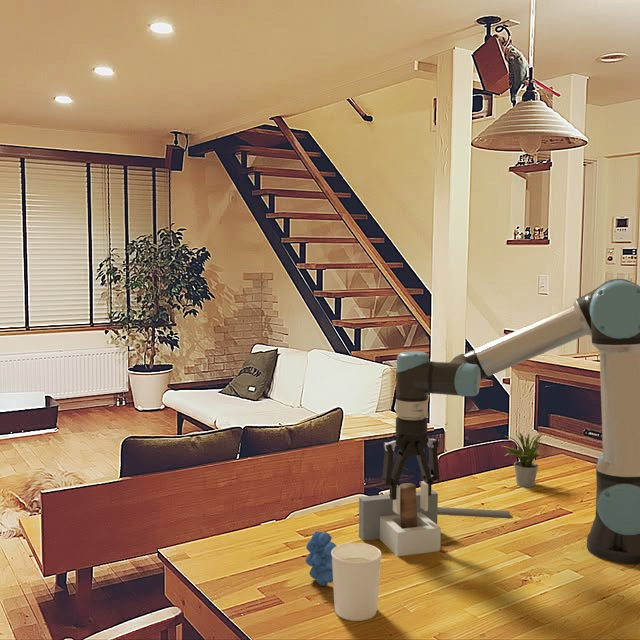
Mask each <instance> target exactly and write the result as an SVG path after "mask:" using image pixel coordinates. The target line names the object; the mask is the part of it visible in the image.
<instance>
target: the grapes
mask: <svg viewBox="0 0 640 640" xmlns="http://www.w3.org/2000/svg"><path fill="white" fill-rule="evenodd" d="M332 538H333V537H332V535H330V533H329V532H326V531H324V532H321V531H320V530H315V531H314V532H313V533H312V535H311V539H310V540H309V541H308V542H307V544H306V546H305V547H306V550H307V551H308V552H309V553H308V555H307V557H306V558H305V563H306V564H307V565H308V566H310V567H311V569H310V571H309V575H310V577H311V578H312V579H314V580H316V583H317V584H318V585H320V586H322V587H323V586H324V587H325V586H326V585H328V583H329V584H331V583H333V571H332V556H331V551H332V549H333V548H335V547H336V546H337V545H336V543H334V542H332Z"/></svg>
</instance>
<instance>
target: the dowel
mask: <svg viewBox="0 0 640 640" xmlns="http://www.w3.org/2000/svg"><path fill="white" fill-rule="evenodd" d="M398 486H399V487H400V520H401V528H402V529H404V528H413V527H417V503H416V491H417V485H416V484H414V483H412V482H406V483H405V482H403V483H401V484H400V485H398Z"/></svg>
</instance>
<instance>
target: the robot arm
mask: <svg viewBox="0 0 640 640" xmlns="http://www.w3.org/2000/svg"><path fill="white" fill-rule="evenodd" d="M585 336H589V337H591V345H592V346H594V347H595V348H596V349H597V351H598V352H599V370H600V371H599V374H600V377H599V378H600V405H601V406H600V407H601V433H602V434H601V435H602V437H601V438H602V440H601V441H602V454H601V455H599V456H598V458H597V464H596V466H595V469H596V470H595V478H596V479H595V480H596V494H595V496H596V497H595V517H594V519H593V522H592V524H591V528H590V531H589V533H588V535H587V536H586V537H587V538H586V549H587V550H588V551H589V552H590V553H591V554H592V555H594V556H595V557H598V558H600V559H602V560H606V561H609V562H613V563H618V564H626V565H640V285H639V284H637V283H635V282H633V281H631V280H628V279H622V278H616V279H615V278H614V279H609V280H607V281H605V282H603V283H602V284H600V285H599V286H597V287H596V288H595V289H593V290H591V291H590V292H588V293H586V294H584V295H582V296H580V297H578V298H576V299H574V301H573V304H572V305H570V306H568V307H565V308H564V309H561V310H559V311H556V312H555V313H553V314H550V315H548V316H546V317H544V318H541V319H539V320H537V321H535V322H532V323H530V324H528V325H526V326H523V327H521V328H519V329H517V330H514V331H512V332H510V333H507V334H505V335H504V336H501V337H499V338H498V337H497V338H496V339H495V340H492V341H490V342H488V343H485V344H483V345H481V346H479V347H477V348H475V349H473V350H472V349H471V350H470V351H467V352H466V353H461V354H458V355H456V356H455V357H453V358H452V359H451V360H450V361H449V362H446V361H445V362H443V361H441V362H439V361H438V362H437V361H432V360H431V361H430V359H429V354H428V353H427V352H424V351H416V350H415V351H413V350H411V351H403V352H399V353H398V354H397V357H396V368H395V369H396V370H395V374H396V376H395V377H396V379H395V380H396V382H395V383H396V384H395V385H396V387H395V388H396V389H395V390H396V392H395V393H396V394H395V395H396V396H395V397H396V398H395V415H396V417H395V437H394V439H393V440H392V441H389V442H388V441H385V442H383V444H382V445H383V449H384V456H383V464H382V467H383V468H382V475H381V482H382V483H383V484H385V485H386V486H389V494H390V498H391V499H392V500H393V511H394V512H395V513H396V514H400V487H399V485H398V484H399V482H400V479H401V475H402V473H403V469H404V467H405V463H406V461H407V460H408V457H412V456H415V457H416V459H417V462H418V466H419V469H420V472H421V475H422V478H423V480H422V481H420V491H421V495H420V508H422V509H423V510H424V511H428V496H431V490H432V485H434V482H435V481H439V480H440V469H439V458H438V457H439V454H438V448H439V445H440V441H439V440H437V439H435V437H434V438H429V437H428V418H427V416H428V410H429V409H428V404H429V403H428V401H429V394H432V395H435V394H436V395H448V396H460V397H462V398H464V397H476V396H477V395H478V394H479V393H480V389H481V382H482V380H484V379H486V378H488V377H490V376H493V375H495V374H497V373H500V372H502V371H505V370H506V369H507V370H508V369H509V368H512V367H514V366H517V365H519V364H521V363H523V362H526V361H528V360H530V359H534V358H535V357H537V356H541V355H542V354H545V353H547V352H549V351H552V350H555V349H557V348H558V347H561V346H564V345H567V344H568V343H571V342H573V341H576V340H579V339H580V338H582V337H585ZM426 446H427V447H428V461H429V465H428V463H427V462H428V461H427V459H426V453H425V450H424V449H425V447H426ZM395 447H396V448H397V449H398V450H397V452H396V459H395V462H394V451H395ZM393 462H394V464H393Z"/></svg>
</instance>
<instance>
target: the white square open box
mask: <svg viewBox="0 0 640 640" xmlns="http://www.w3.org/2000/svg"><path fill="white" fill-rule="evenodd" d="M379 540H380V541H381V542H382V543H383V544H384V545H385V546H386V547H387V548H388V549H389V550H390V551H392V553H393V554H394V555H395V556H396V557H405V556H411V555H419V554H426V553H433V552H441V526H439V525H438V523H437V524H435V523H434V522H433V521H432V520H430V519H429V518H428V517H426V516H425V515H424V514H423V513H421V512H417V527H413V528H404V529H402V528H401V520H400V514H398V515H389V516H380V539H379Z"/></svg>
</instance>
